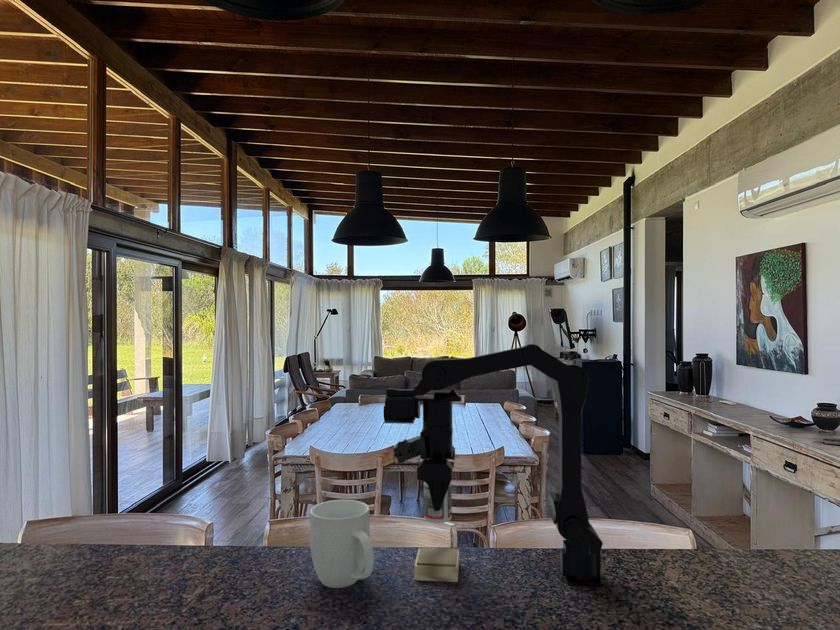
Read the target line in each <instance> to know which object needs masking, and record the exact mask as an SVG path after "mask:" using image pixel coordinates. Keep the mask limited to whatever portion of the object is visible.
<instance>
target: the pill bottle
mask: <svg viewBox="0 0 840 630" xmlns="http://www.w3.org/2000/svg"><path fill="white" fill-rule="evenodd" d="M452 514H453V513H452V481H451V482H450V485H449V487H448V490H447V493H446V495H445V498H444V500H443V503H442V506H441V508H440V511H434V509H433V505H432V500H431V496H430V491H429V487H428V485H427V483H425V482H424V481H423V519H424V520H425V521H426V522H428V523H432V524H444V523H447V522H449V521H450V520H452Z"/></svg>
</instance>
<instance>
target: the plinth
mask: <svg viewBox="0 0 840 630" xmlns="http://www.w3.org/2000/svg"><path fill="white" fill-rule="evenodd" d="M459 550H460V549H457V548H455V547H453V548H452V547H451V548H450V547H449V548H448V547H427V546H421V547H419V548H418V550H417V554H416V558H415V562H414V568H413V569H414V571H413V573H414V577H413V578H414V581H421V582H423V581H426V582H445V583H446V582H447V583H449V582H450V583H458V582H459V568H460V567H459V566H460V551H459Z"/></svg>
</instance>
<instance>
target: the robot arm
mask: <svg viewBox="0 0 840 630" xmlns="http://www.w3.org/2000/svg"><path fill="white" fill-rule="evenodd" d="M527 366H531V367H533V368H534V369H535V370H537V371H539V372H540V373H542V374H544V375H545V376H547V377H548V378H550V379H551V381H552V386H553V387H552V388H553V394H554V397H555V401H556V404H557V409H558V485H557V488H556V491H555V492H553V491H548V496H549V501H550V502H549V503H550V505H549V508H548V513H549V516H550V519H551V521H552V523H553V525H555V527H556V529H557V531H558V533H559V535H560V536H561V537H562V538H563V539H562V548H560V549H559V561H560V562H559V563H560V564H559V565H560V567H559V568H560V572H561V575H562V577H564V579H565V582H566V584H567V585H572V586H573V585H576V586H592V587H593V586H595V587H596V586H597V587H598V586H599V587H603V586H604V585H605V583H604V581H603V579H602V575H601V573H602V570H601V569H602V568H601V567H602V560H601V554H602V553H601V551H602V548H603V544H604V542H603V541H602V539H601V537H600V536H599V534H598V533H597V532H596V530H595V528H594V526H593V525H592V524H591V523H590V520H589V515H588V514H589V513H588V509H587V505H586V501H585V498H584V494H583V490H582V488H583V487H582V414H583V413H582V412H583V410H584V407H585V403H586V400H587V396H588V390H589V384H590V377H589V375H588V373H587V371H586V370H585V369H584V368H583V367H582V366H579V365H577V364H575V363H569V362H566V363H565V362H563V361H562V360H560V359H558V358H556V357H555V356H553V355H551V354H550V353H549V352H546V351H545V350H544V349H542V348H541V347H540V346H539V345H537V344H534V343H532V344H531V343H529V344H528V343H527V344H526V345H524V346H523V345H522V346H520V347H516V348H509V349H506V350H501V351H497V352H491V353H485V354H482V355H477V356H476V355H475V356H471V357H466V358H465V357H463V358H462V357H461V358H460V357H459V358H458V357H457V358H436V359H431V361H429V362H427V363H426V364H425V365H424V367H423V368H422V371H421V379H420V381H419V382H418V383H417V384H415V385H414V389H413V388H411V389H410V388H409V389H408V388H407V389H406V388H405V389H404V388H401V389H400V388H394V387H393V388H392V387H389V388H387V389H386V390H385V391H386V392H385V393H386V394H385V399H384V406H383V421H384V424H401V425H402V424H403V425H404V424H409V425H412V424H414V423H415V421H416V419H420V417H421V402H422V429H421V431H420V433H419V434H420V435H419V436H418V435H417V436H414V437H411V438H408V439H406V438H405V439H403V440H402V441H400V440H399V441H398V442H397V443H396V444H394V446H393V448H392V450H393V452H394V453H393V457H394V458H396V460H397V464H403V463H405V462H406V461H408V460H411V459H414V458H417V457H419V459H420V460H421V462H419V464H418V466H417V467H416V480H418V481H423V483H424V482H425V483H427V485H428V487H429V491H430V496H431V500H432V505H433V509H434V511H440V508H441V506H442V503H443V500H444V498H445V495H446V493H447V490H448V487H449V485H450V482H451V483H452V480H453V469H454V467H455V460H456V447H454V445H453V433H454V431H453V430H454V429H453V402H454V403H455V402H458V403H459V402H461V401H462V396H461V395H460V394H459V393H458V391H456V389H455V388H454V387H453V388H451V389H450V391H441V390H444V389H447V388H449V387H451V386H454V385H457V384H458V383H461V382H464V381H466V380H468V379H470V378H474V377H478V376H483V375H488V374H493V373H497V372H502V371H508V370H512V369H516V368H521V367H527ZM431 391H434V394H433V396H425V395H426V394H428V393H429V392H431ZM449 460H452V461H449Z"/></svg>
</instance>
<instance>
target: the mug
mask: <svg viewBox="0 0 840 630" xmlns="http://www.w3.org/2000/svg"><path fill="white" fill-rule="evenodd" d="M370 523H371V522H370V506H369V505H368V504H366V503H365V502H363V501H358V500H356V499H355V500H354V499H334V500H328V501H327V500H326V501H323V502H321V503H320V502H319V503H317V504H315V505H314V506H312V507H311V508H310V511H309V545H310V546H309V547H310V553H311V561H312V564H313V568H314V572H315V574H316V576H317V577H318V580H319V581H320V583H321V584H322V585H324V586H325V587H327V588H330V589H342V588H348V587H350V586H352V585H354V584H355V583H357V582H358V580H364V579H367V578H368V577H369V576H371V574H372V572H373V570H374V563H375V557H374V556H375V555H374V548H373V544H372V541H371V540H370V536H371V535H370V533H371V531H370V528H371V527H370V525H371V524H370Z"/></svg>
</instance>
